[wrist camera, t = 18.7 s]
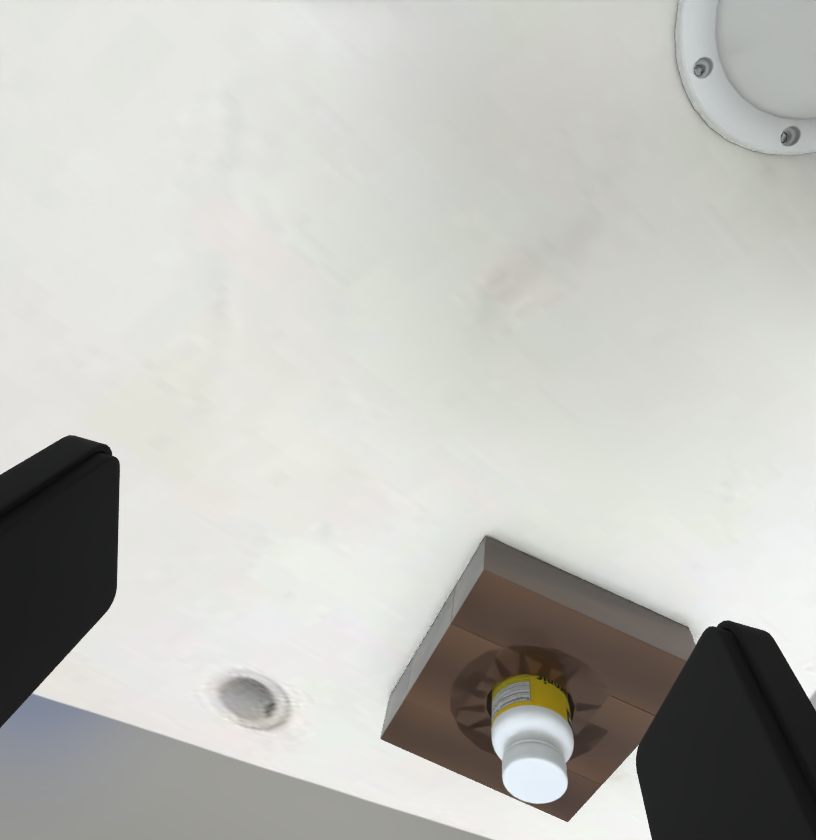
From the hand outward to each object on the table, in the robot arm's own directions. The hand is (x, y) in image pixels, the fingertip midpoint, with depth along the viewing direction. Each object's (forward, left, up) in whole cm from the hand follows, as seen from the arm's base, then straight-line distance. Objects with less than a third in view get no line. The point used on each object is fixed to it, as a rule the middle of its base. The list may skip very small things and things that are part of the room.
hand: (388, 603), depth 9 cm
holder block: (+8, +28, -28) cm, 41 cm away
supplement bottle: (+8, +28, -28) cm, 40 cm away
